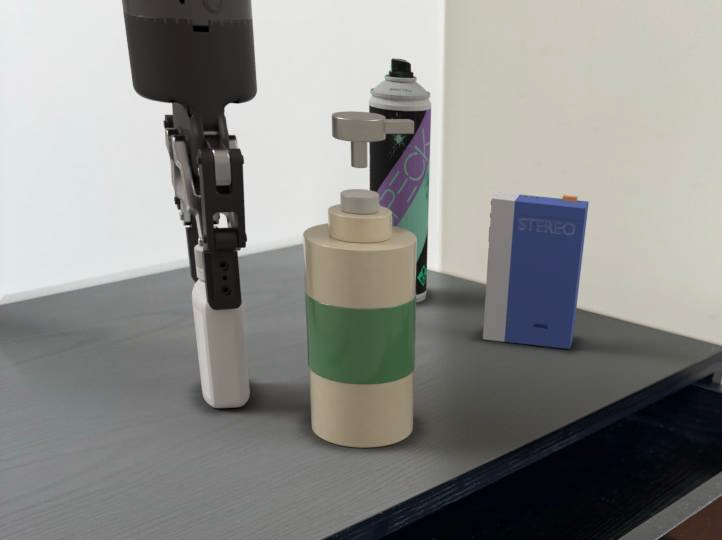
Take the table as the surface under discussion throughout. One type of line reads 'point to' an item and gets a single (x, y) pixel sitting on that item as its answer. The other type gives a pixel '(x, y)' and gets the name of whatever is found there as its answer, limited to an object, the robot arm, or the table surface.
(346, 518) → the table surface
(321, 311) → the soap bottle
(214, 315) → the eye dropper bottle
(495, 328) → the walkman
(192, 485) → the table surface
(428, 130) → the spray can
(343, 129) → the pump
